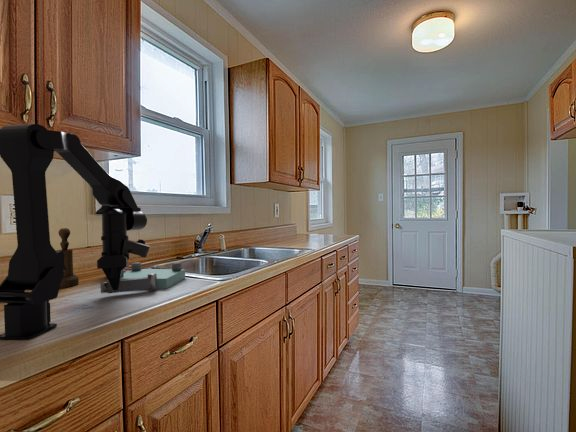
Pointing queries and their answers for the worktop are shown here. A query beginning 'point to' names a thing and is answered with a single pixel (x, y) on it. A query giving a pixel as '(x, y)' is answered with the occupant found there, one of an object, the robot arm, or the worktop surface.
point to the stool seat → (163, 275)
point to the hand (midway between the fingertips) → (115, 290)
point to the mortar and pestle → (67, 260)
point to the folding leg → (132, 284)
